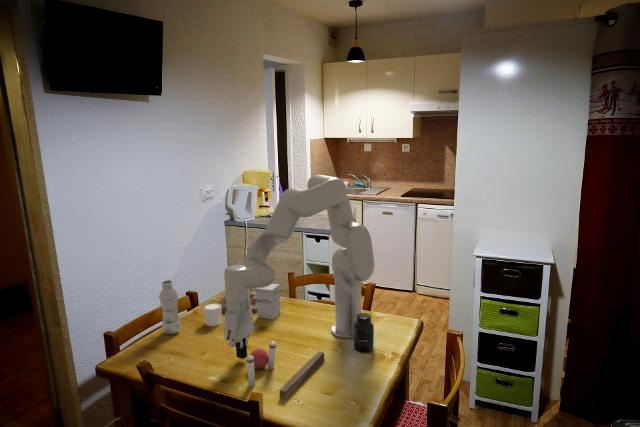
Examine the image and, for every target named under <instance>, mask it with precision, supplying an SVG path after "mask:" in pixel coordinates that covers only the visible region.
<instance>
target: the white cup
mask: <svg viewBox="0 0 640 427" xmlns="http://www.w3.org/2000/svg"><path fill="white" fill-rule="evenodd" d="M221 310H222V306H221V304H218V302H217V303H208V304H206V305H204V306H203V312H204V318H205V323H206V326H208V327H217V326H219V325H221V324H222V313H221Z"/></svg>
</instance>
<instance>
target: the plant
mask: <svg viewBox="0 0 640 427" xmlns="http://www.w3.org/2000/svg"><path fill="white" fill-rule="evenodd" d="M249 289H250V305H251V308H252V313H253V314H257V299H256V293H253V289H254V288H249ZM217 303H218V304H221V306H222V310H221V314H225V312H226V311H227V305H226V295H224V296H223V297H222V298H221V299H220V300H218V301H217Z"/></svg>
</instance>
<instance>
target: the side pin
mask: <svg viewBox="0 0 640 427" xmlns="http://www.w3.org/2000/svg"><path fill="white" fill-rule="evenodd" d="M246 368H247V369H246V370H247V381H248V382H247V383H248V387H249V388H253V387H255V386H256V376H255V368H254V356H253V355H249V354H248V355H247V357H246Z"/></svg>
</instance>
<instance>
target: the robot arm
mask: <svg viewBox="0 0 640 427" xmlns="http://www.w3.org/2000/svg"><path fill="white" fill-rule="evenodd" d="M306 187H307V189H301V188H296V187H291V188H287V189H286V190H284V191H283V192H282V194H281V196H280V198H279V200H278V202H277V204H276V207H275V208H274V211H273V213H272V216H271V217H270V219H269V221H268V223H267V226H265V227H266V228H265V229H263V231H262V232H261V233H260V234H259V235H258V236H257V237H256V238H255V240H254V241H253V242H252V243H251V245H250V247H249V249H248V251H247V253H246V255H245V257H244V260H243V263H242V264H233V265H230V266H227V267H226V268H225V269H224V274H223V275H224V288H225V290H224V291H225V296H226V305H227V311H226V312H225V313H224V322H223V323H224V324H223V328H224V330H223V331H224V334H223V335H224V340H225V341H228V347H230V348H235V354H236V355H235V356H236V358H238V359H242V360H245V359H246V358H247V356H248V347H247V346H248V343H249V337H250V336H251V335H252V333H253V332H254V326H255V325H254V313H252V308H251V305H250V292H251V291H250V288H252V289H256V288H263V287H267V286H269V285H271V284H274V281H275V278H276V273H275V271H274V269H273V268H272V267H271V266H270V265H268V264H267V263H266V261H267V260H268V258H269V255H270V253H272V251H273V250H275V248H276V247H277V246H279V245H281V244H284V243H286V242H288V241H289V240H290V239H291V238H292V235H293V233H294V231H295V228H296V227H297V225H298V222H299V220H300V219H301V218H308V217H312V216H315V215H317V214H319V213H321V212H323V211H325V210H326V212H327V216H328V223H329V230H330V235H331V240H332V242H334V244H336V245H337V246H340V248H338V249H336V250H335V251H334V252H333V255H332V257H331V267H332V273H333V280H334V312H335V313H334V314H335V317H334V318H335V321H334V322H335V323H334V324H332V326H331V333H332V334H333V335H334V336H335V337H337V338H342V339H354V324H355V322H357V315H358V314H360V313H362V283H361V282H366V281H368V280H369V279H371V277H372V276H373V274H374V270H375V258H374V250H373V242H372V236H371V234H370V231H369V230H368V228H367V227H366V226H365V225H363V224H361V223H358V222H356V221H355V219H354V214H353V209H352V204H351V201H350V198H349V197H348V194H347V185H346V183H345V182H344V180H342V179H340V178H338V177H335V176H330V175H324V174H315V175H312V176H311V177H309V179H308V181H307V183H306Z"/></svg>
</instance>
